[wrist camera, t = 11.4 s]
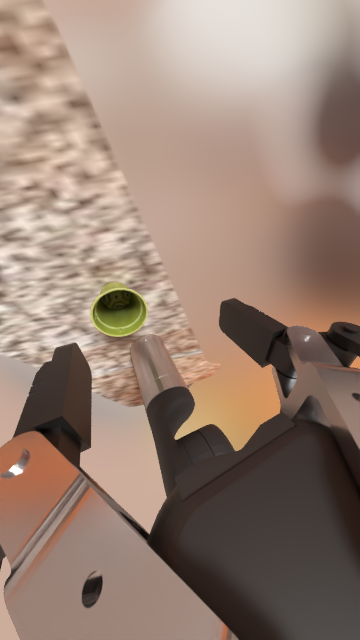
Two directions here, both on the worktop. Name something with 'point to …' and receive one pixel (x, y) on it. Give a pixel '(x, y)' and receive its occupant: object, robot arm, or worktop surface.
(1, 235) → the worktop surface
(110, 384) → the worktop surface
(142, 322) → the plant pot
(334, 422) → the robot arm
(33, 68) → the worktop surface
